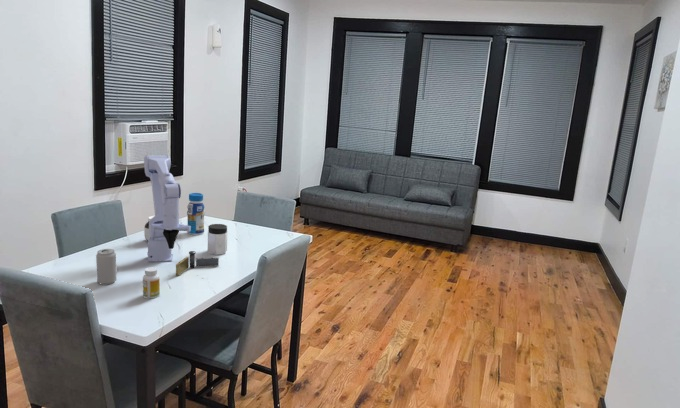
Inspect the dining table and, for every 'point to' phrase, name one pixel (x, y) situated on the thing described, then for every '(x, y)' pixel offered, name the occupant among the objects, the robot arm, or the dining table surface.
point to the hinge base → (202, 261)
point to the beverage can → (106, 266)
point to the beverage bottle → (196, 214)
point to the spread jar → (147, 229)
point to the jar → (217, 239)
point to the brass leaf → (182, 266)
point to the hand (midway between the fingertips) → (171, 248)
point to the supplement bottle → (151, 283)
